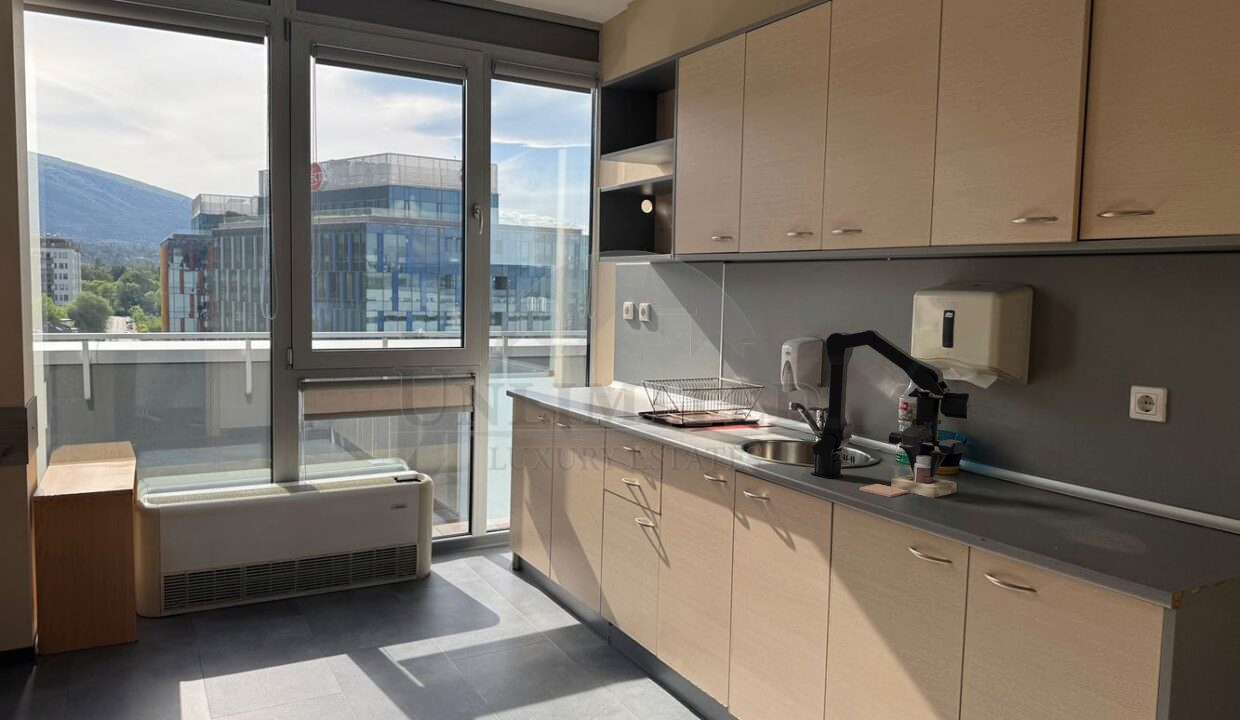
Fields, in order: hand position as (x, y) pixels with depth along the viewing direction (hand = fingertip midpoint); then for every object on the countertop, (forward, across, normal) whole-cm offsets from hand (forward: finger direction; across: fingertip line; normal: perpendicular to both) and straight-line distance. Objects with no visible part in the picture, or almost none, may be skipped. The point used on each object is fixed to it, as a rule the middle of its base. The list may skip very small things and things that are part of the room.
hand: (923, 475), depth 219 cm
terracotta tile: (+4, -5, -10) cm, 12 cm away
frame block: (+4, 0, 0) cm, 4 cm away
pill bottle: (+4, 0, 0) cm, 4 cm away
